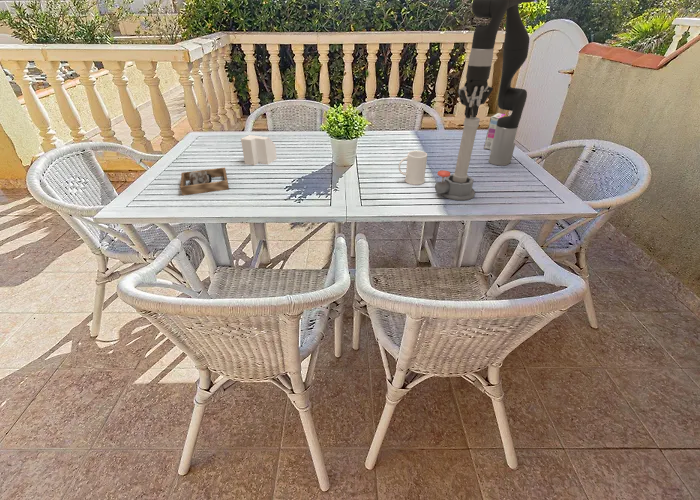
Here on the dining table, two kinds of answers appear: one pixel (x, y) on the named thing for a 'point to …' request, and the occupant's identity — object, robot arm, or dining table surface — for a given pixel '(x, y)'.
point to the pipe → (466, 149)
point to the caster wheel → (199, 177)
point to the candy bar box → (492, 130)
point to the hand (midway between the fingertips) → (470, 116)
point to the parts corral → (205, 186)
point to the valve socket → (454, 187)
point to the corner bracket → (258, 150)
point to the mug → (415, 167)
